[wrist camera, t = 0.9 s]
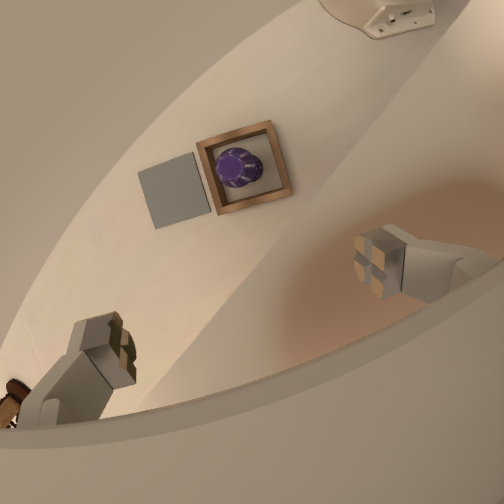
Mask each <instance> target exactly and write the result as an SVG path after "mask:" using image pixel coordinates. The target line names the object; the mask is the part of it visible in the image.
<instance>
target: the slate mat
mask: <svg viewBox="0 0 504 504" xmlns="http://www.w3.org/2000/svg"><path fill="white" fill-rule="evenodd" d="M138 176H139V179H140V183H141V186H142V189H143V193H144V196H145V199H146V202H147V205H148V208H149V212H150V215H151V218H152V221H153V224H154V227H155V229H158V228H161V227H164V226H167V225H171V224H174V223H177V222H180V221H183V220H186V219H189V218H193V217H196V216H199V215H202V214H206V213H209V212H211V210H210V206H209V203H208V200H207V197H206V194H205V190H204V187H203V184H202V181H201V177H200V174H199V171H198V168H197V164H196V161H195V158H194V154H193V152H191V153H188V154H186V155H183V156H180V157H177V158H175V159H172V160H169V161H167V162H164V163H162V164H159V165H156V166H154V167H151V168H149V169H146V170H144V171H141V172H139V173H138Z"/></svg>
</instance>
